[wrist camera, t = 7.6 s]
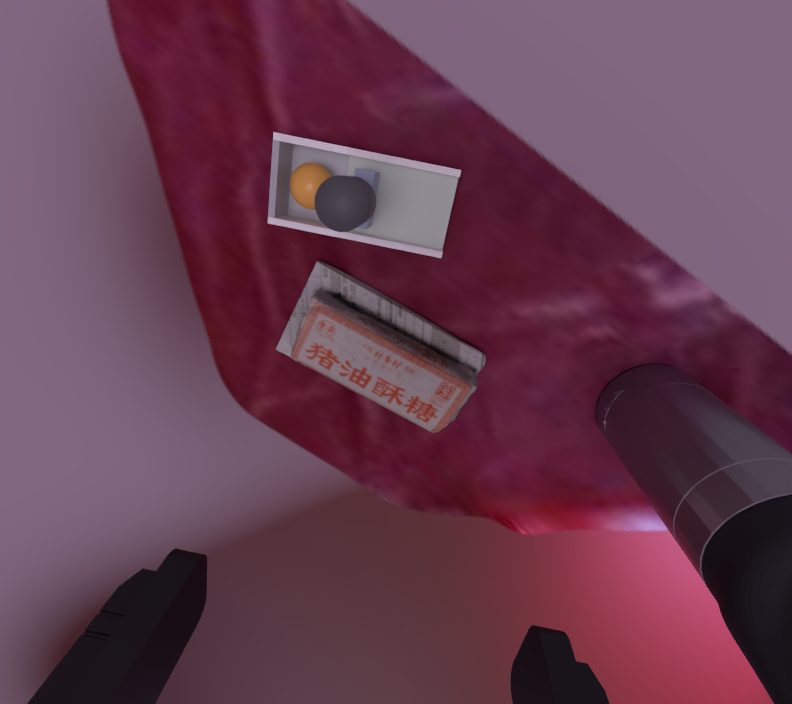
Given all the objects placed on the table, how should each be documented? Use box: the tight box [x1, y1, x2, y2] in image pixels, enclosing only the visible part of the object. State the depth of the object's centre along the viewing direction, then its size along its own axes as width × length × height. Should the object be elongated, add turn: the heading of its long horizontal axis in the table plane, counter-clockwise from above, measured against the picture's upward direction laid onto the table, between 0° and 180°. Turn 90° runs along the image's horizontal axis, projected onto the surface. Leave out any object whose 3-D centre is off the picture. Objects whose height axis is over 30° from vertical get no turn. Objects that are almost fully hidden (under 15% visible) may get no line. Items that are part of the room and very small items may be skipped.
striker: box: [315, 168, 380, 232], centre depth 28 cm, size 3×4×10 cm
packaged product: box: [276, 261, 486, 433], centre depth 38 cm, size 18×5×10 cm
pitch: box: [336, 147, 461, 258], centre depth 33 cm, size 8×6×3 cm
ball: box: [290, 162, 332, 210], centre depth 33 cm, size 4×4×4 cm
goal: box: [268, 132, 350, 237], centre depth 33 cm, size 6×6×4 cm
